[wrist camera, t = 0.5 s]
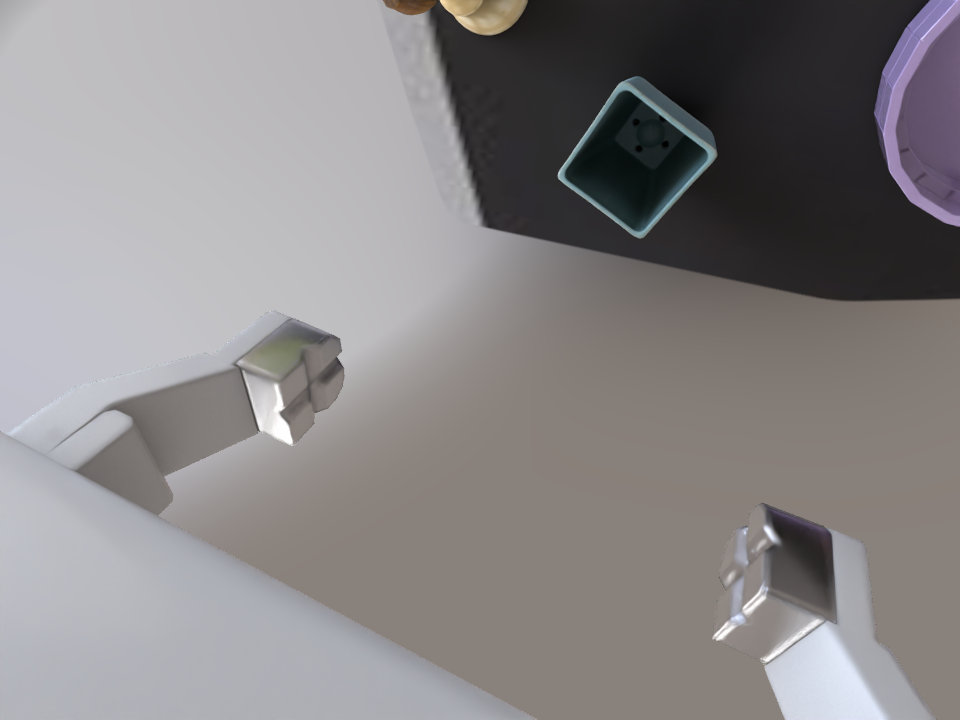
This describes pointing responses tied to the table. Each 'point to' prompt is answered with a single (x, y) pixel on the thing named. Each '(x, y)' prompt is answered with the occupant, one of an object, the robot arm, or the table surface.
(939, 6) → the bowl
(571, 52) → the table surface
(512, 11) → the hand bell
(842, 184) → the table surface
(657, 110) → the flower pot
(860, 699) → the robot arm
